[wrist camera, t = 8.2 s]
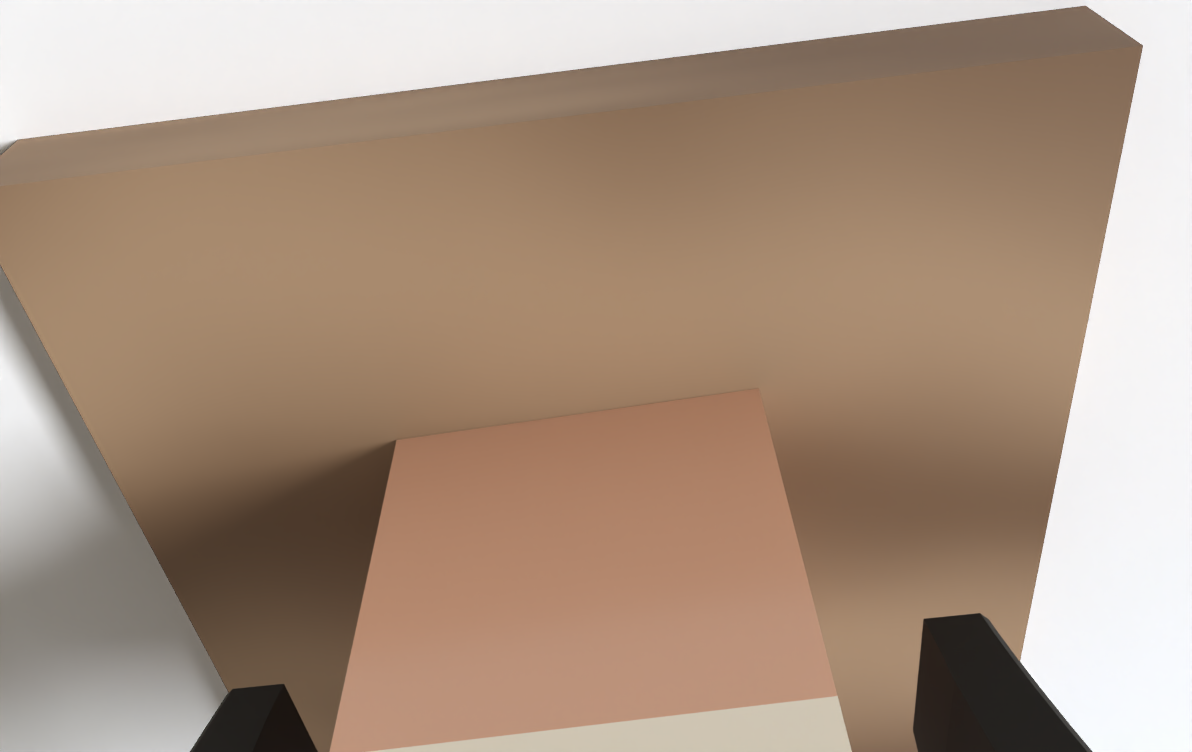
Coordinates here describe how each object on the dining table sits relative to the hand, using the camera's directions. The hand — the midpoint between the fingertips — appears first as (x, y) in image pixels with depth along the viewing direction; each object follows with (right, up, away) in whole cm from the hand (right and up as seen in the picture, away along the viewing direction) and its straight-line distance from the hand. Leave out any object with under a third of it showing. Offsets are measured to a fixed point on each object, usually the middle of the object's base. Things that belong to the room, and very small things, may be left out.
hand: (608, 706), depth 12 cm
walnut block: (0, +3, +4) cm, 5 cm away
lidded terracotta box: (0, +2, +2) cm, 3 cm away
